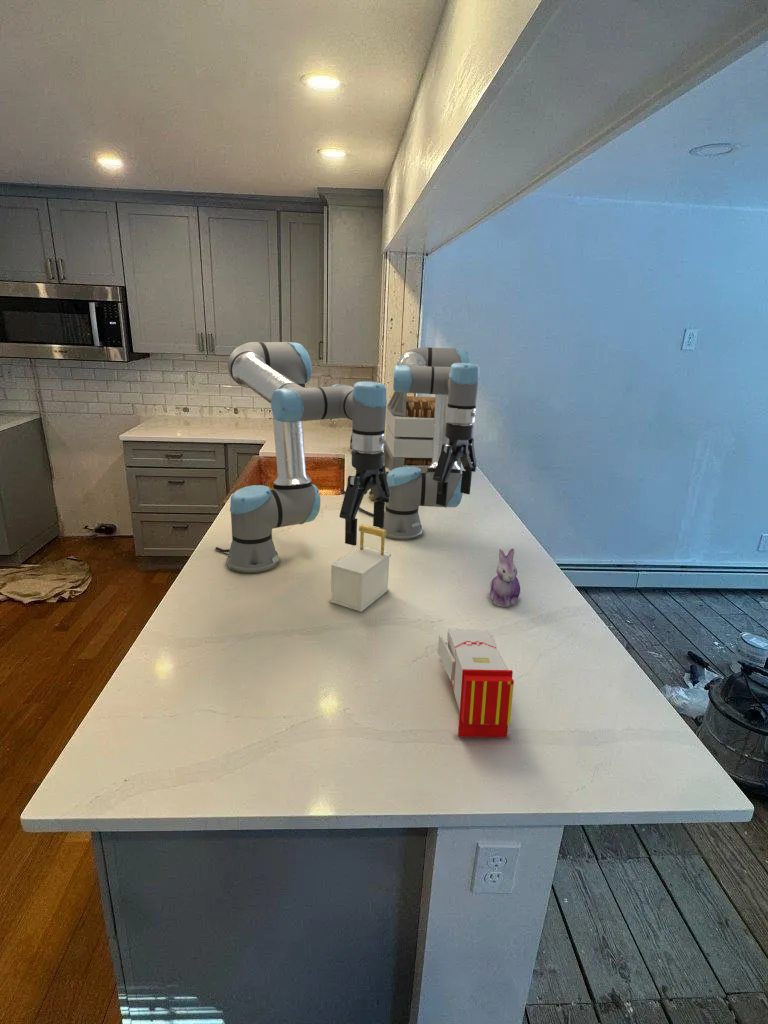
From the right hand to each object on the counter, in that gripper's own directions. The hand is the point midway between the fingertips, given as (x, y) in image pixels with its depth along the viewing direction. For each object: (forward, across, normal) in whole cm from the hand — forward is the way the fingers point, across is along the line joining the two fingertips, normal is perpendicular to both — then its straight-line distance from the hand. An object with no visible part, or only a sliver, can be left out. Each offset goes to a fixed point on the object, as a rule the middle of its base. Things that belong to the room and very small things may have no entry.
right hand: (453, 498), depth 158 cm
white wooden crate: (+26, +93, +68) cm, 118 cm away
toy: (+26, -42, -30) cm, 57 cm away
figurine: (+26, 0, -18) cm, 31 cm away
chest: (+26, -24, +14) cm, 37 cm away
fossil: (+26, +52, +61) cm, 84 cm away
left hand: (+3, -31, +7) cm, 32 cm away
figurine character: (+26, +106, +119) cm, 161 cm away
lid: (+15, -23, +14) cm, 31 cm away
